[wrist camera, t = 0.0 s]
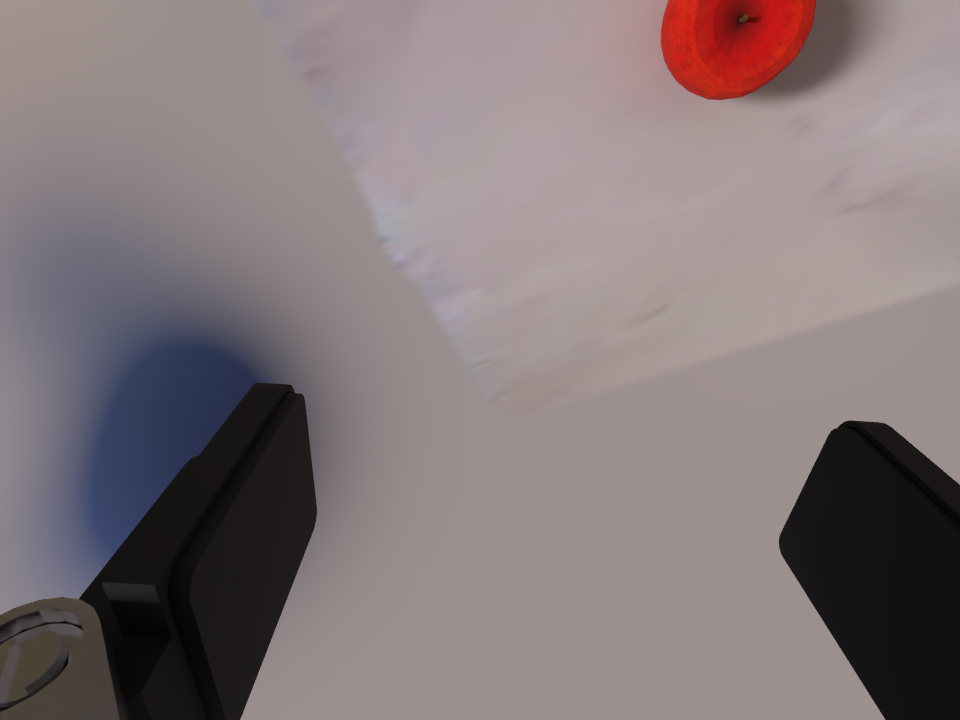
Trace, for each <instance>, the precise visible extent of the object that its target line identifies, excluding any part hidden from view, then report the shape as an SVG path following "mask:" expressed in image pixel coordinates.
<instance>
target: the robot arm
mask: <svg viewBox="0 0 960 720" xmlns="http://www.w3.org/2000/svg"><path fill="white" fill-rule="evenodd" d="M316 516H317V506H316V497H315V489H314V479H313V471H312V461H311V452H310V443H309V434H308V425H307V415H306V406H305V399H304V396H303V395H302V394H297V393H295V392H294V389H293V387H292V386H291V385H286V384H285V385H284V384H269V383H256V384H254V385H253V386H252V387H251V389H250V390H249V391H248V393H247V394H246V395H245V397H244V398H243V399H242V400H241V402H240V403H239V405H238V406H237V407H236V408H235V409H234V411H233V412H232V413H231V415H230V416H229V417H228V419H227V420H226V421H225V422H224V424H223V425H222V426H221V428H220V429H219V430H218V431H217V433H216V434H215V435H214V437H213V438H212V439H211V441H210V442H209V443H208V444H207V446H206V447H205V448H204V450H203V451H202V452H201V453H200V455H199V456H196V457H194V458H191V459H190V460H189V461H188V462H187V463H186V464H185V465H184V467H183V468H182V469H181V471H180V472H179V473H178V474H177V476H176V477H175V478H174V479H173V481H172V482H171V483H170V484H169V486H168V487H167V488H166V489H165V491H164V492H163V493H162V494H161V496H160V497H159V498H158V499H157V501H156V502H155V503H154V505H153V506H152V507H151V508H150V510H149V511H148V512H147V513H146V515H145V516H144V518H143V519H142V520H141V521H140V522H139V524H138V525H137V526H136V527H135V529H134V530H133V531H132V532H131V534H130V535H129V536H128V537H127V539H126V540H125V541H124V542H123V544H122V545H121V546H120V548H119V549H118V550H117V552H116V553H115V554H114V555H113V556H112V558H111V559H110V560H109V561H108V563H107V564H106V565H105V566H104V568H103V569H102V570H101V572H100V573H99V574H98V576H97V577H96V578H95V579H94V581H93V582H92V583H91V584H90V586H89V587H88V588H87V589H86V591H85V592H84V593H83V594H82V596H81V597H80V598H79V599H73V598H65V597H59V598H51V599H43V600H38V601H35V602H31V603H28V604H25V605H22V606H19V607H16V608H13V609H11V610H10V611H8V612H6V613H4V614H2V615H0V720H240V718H241V716H242V714H243V711H244V708H245V706H246V703H247V701H248V698H249V695H250V693H251V690H252V688H253V685H254V683H255V680H256V677H257V675H258V672H259V670H260V667H261V665H262V661H263V659H264V657H265V654H266V652H267V649H268V646H269V644H270V641H271V638H272V636H273V633H274V631H275V628H276V626H277V623H278V621H279V618H280V615H281V613H282V610H283V607H284V605H285V602H286V600H287V597H288V595H289V592H290V589H291V587H292V584H293V582H294V579H295V576H296V574H297V571H298V569H299V566H300V563H301V561H302V558H303V556H304V553H305V550H306V548H307V545H308V543H309V540H310V538H311V535H312V532H313V530H314V527H315V522H316ZM779 547H780V551H781V554H782V556H783V558H784V559H785V561H786V563H787V564H788V566H789V567H790V569H791V571H792V572H793V574H794V575H795V577H796V578H797V580H798V582H799V583H800V585H801V586H802V588H803V589H804V591H805V593H806V594H807V596H808V598H809V599H810V601H811V602H812V604H813V605H814V607H815V609H816V610H817V612H818V613H819V615H820V616H821V618H822V620H823V621H824V623H825V624H826V626H827V628H828V629H829V631H830V632H831V634H832V635H833V637H834V639H835V640H836V642H837V643H838V645H839V647H840V648H841V650H842V651H843V653H844V654H845V656H846V658H847V659H848V661H849V662H850V664H851V666H852V667H853V669H854V670H855V672H856V673H857V675H858V677H859V678H860V680H861V681H862V683H863V685H864V686H865V688H866V689H867V691H868V692H869V694H870V696H871V697H872V699H873V701H874V702H875V704H876V705H877V707H878V708H879V710H880V712H881V713H882V715H883V716H884V718H885V720H960V485H959V484H958V483H957V482H956V481H955V480H953V479H952V478H951V477H950V476H948V475H947V474H946V473H945V472H944V471H943V470H941V469H940V468H939V467H938V466H937V465H935V464H934V463H933V462H932V461H931V460H930V459H928V458H927V457H926V456H925V455H924V454H922V453H921V452H920V451H919V450H918V449H916V448H915V447H914V446H913V445H912V444H910V443H909V442H908V441H907V440H906V439H905V438H903V437H902V436H901V435H900V434H899V433H897V432H896V431H895V430H894V429H893V428H892V427H890V426H888V425H887V424H884V423H879V422H864V421H846V422H844V423H842V424H841V425H840V426H839V427H838V428H836V429H834V430H832V431H831V432H830V434H829V435H828V437H827V439H826V441H825V444H824V446H823V448H822V450H821V452H820V454H819V456H818V458H817V460H816V462H815V464H814V466H813V468H812V471H811V472H810V474H809V476H808V479H807V481H806V483H805V485H804V487H803V489H802V491H801V493H800V495H799V497H798V499H797V501H796V503H795V505H794V507H793V509H792V512H791V513H790V516H789V518H788V520H787V522H786V524H785V526H784V528H783V530H782V532H781V534H780V538H779Z"/></svg>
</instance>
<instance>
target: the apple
mask: <svg viewBox="0 0 960 720" xmlns="http://www.w3.org/2000/svg"><path fill="white" fill-rule="evenodd" d="M815 5H816V0H669V1H668V4H667V7H666V10H665V13H664V16H663V22H662V29H661V47H662V51H663V56H664V60H665V63H666V65H667V67H668V69H669V70H670V72H671V73H672V75H673V77H674V78H675V80H676V81H677V82H678V83H679V84H681V85H682V86H683V87H684V88H685V89H687V90H688V91H689V92H691V93H694V94H696V95H699V96H701V97H704V98H706V99H712V100H724V99H730V98H737V97H743V96H745V95H747V94H749V93H752V92H754V91H756V90H757V89H759V88H760V87H762V86H763V85H765V84H767V83H768V82H770V81H771V80H772V79H773V78H774V77H776V76H777V75H778V74H779V73H780V72H781V71H782V70H783V69H785V68H786V67H787V66H788V65H789V64H790V63H791V62H792V61H793V60H794V59H795V58H796V56H797V55H798V53H799V52H800V50H801V48H802V46H803V44H804V42H805V40H806V38H807V36H808V34H809V32H810V30H811V28H812V26H813V19H814V12H815Z"/></svg>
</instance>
